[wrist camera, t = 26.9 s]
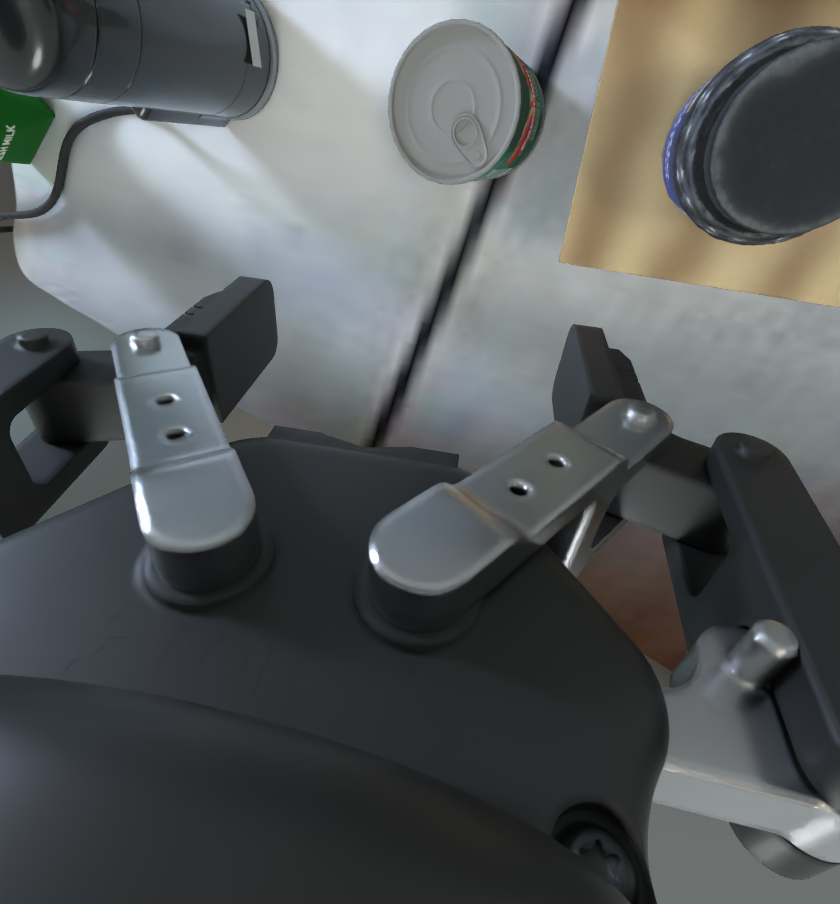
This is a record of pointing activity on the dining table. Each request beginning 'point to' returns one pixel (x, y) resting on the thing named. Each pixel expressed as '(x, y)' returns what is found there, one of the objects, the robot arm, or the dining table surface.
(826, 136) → the pill bottle
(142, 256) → the dining table surface
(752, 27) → the shelf riser
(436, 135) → the canned tomato
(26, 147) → the milk carton
